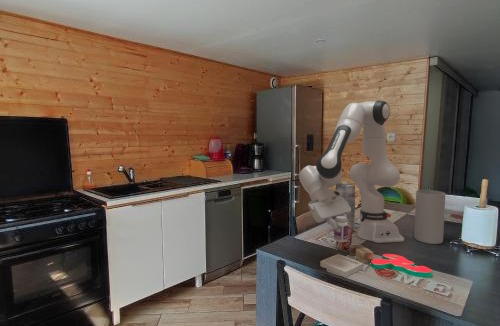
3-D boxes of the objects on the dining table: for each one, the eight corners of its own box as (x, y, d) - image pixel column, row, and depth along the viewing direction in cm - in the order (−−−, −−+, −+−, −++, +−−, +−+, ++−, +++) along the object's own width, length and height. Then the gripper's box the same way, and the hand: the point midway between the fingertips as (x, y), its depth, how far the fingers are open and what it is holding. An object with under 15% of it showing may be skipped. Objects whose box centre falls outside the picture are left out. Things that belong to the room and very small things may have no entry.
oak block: (365, 258, 124) (366, 247, 123) (372, 263, 119) (373, 252, 118) (355, 259, 123) (355, 248, 122) (362, 264, 118) (362, 253, 117)
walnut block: (363, 254, 129) (363, 245, 129) (364, 257, 125) (364, 248, 125) (349, 252, 130) (349, 244, 130) (350, 256, 127) (350, 247, 126)
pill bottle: (344, 237, 118) (345, 214, 117) (349, 242, 112) (350, 218, 112) (332, 237, 118) (332, 215, 117) (336, 242, 112) (336, 219, 111)
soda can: (341, 252, 131) (341, 227, 130) (333, 246, 137) (333, 222, 136) (354, 250, 132) (355, 225, 131) (345, 245, 139) (346, 221, 138)
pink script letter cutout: (368, 267, 116) (368, 262, 116) (386, 256, 127) (386, 251, 126) (421, 286, 101) (421, 280, 101) (437, 272, 111) (437, 266, 111)
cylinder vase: (414, 242, 142) (416, 193, 140) (413, 234, 153) (415, 189, 151) (444, 246, 136) (447, 195, 134) (441, 238, 147) (443, 191, 145)
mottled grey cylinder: (355, 229, 162) (356, 183, 159) (335, 228, 164) (336, 183, 161) (352, 225, 170) (353, 181, 168) (334, 224, 172) (335, 180, 170)
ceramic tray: (338, 258, 124) (338, 253, 124) (363, 268, 114) (363, 263, 114) (320, 266, 117) (320, 261, 117) (345, 277, 107) (345, 272, 107)
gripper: (310, 197, 113) (330, 227, 106) (342, 191, 125) (361, 218, 118) (302, 206, 117) (320, 235, 110) (333, 199, 129) (352, 225, 122)
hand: (342, 226), depth 114 cm, fingers closed on pill bottle, 5 cm apart
